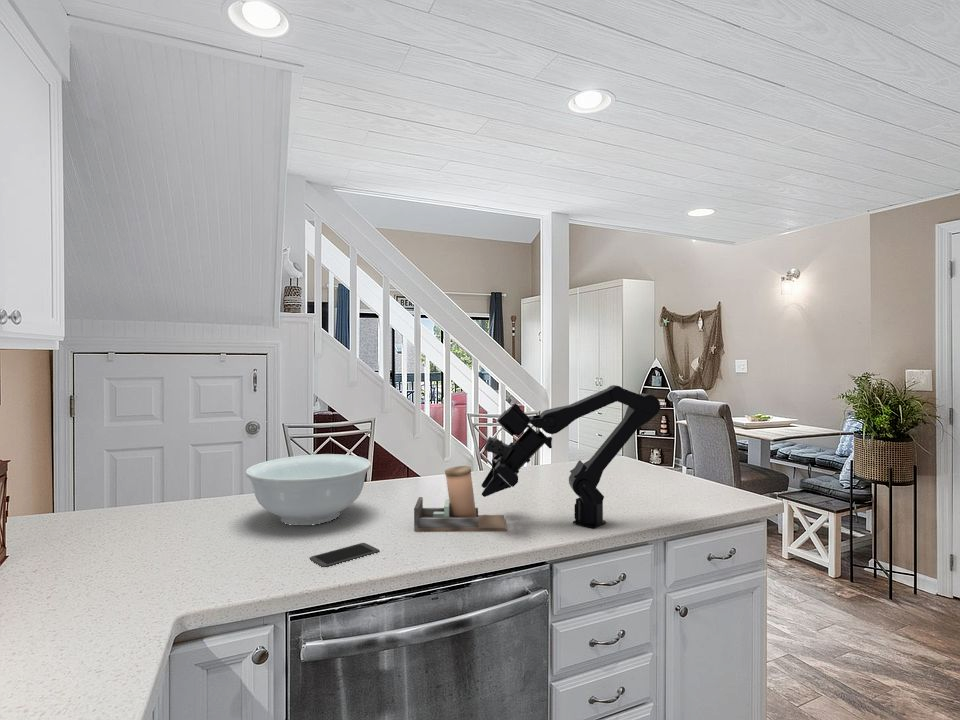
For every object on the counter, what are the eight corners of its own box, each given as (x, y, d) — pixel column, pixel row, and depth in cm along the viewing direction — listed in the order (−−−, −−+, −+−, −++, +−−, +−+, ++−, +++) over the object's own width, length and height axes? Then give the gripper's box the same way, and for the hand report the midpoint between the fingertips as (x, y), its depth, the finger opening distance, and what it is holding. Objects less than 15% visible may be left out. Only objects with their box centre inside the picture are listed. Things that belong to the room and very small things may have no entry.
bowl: (270, 547, 125) (269, 484, 125) (231, 516, 150) (230, 463, 150) (392, 520, 145) (392, 465, 145) (340, 496, 170) (339, 450, 170)
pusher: (450, 516, 145) (450, 499, 145) (448, 524, 138) (448, 506, 138) (434, 516, 145) (434, 499, 145) (432, 524, 138) (432, 506, 137)
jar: (479, 513, 144) (472, 465, 144) (474, 521, 137) (467, 470, 137) (454, 515, 145) (448, 467, 145) (448, 523, 139) (442, 473, 138)
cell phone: (381, 553, 122) (381, 550, 122) (323, 570, 112) (323, 566, 112) (364, 545, 127) (364, 542, 127) (307, 560, 118) (307, 557, 118)
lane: (504, 517, 147) (503, 496, 147) (506, 531, 136) (505, 507, 136) (419, 518, 147) (418, 497, 147) (414, 531, 136) (414, 508, 136)
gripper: (500, 422, 150) (461, 462, 150) (504, 431, 132) (459, 477, 132) (529, 450, 150) (490, 490, 150) (536, 463, 132) (492, 509, 132)
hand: (482, 491), depth 141 cm, fingers open, 9 cm apart
